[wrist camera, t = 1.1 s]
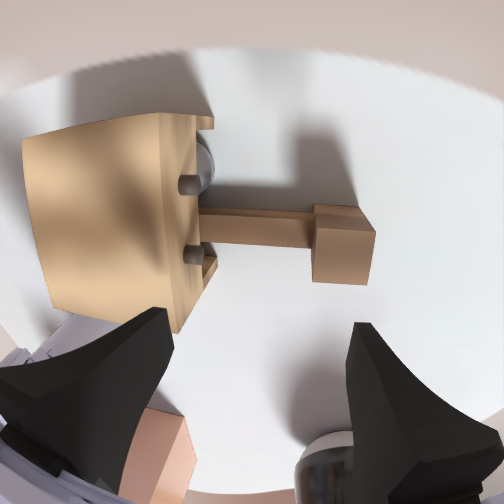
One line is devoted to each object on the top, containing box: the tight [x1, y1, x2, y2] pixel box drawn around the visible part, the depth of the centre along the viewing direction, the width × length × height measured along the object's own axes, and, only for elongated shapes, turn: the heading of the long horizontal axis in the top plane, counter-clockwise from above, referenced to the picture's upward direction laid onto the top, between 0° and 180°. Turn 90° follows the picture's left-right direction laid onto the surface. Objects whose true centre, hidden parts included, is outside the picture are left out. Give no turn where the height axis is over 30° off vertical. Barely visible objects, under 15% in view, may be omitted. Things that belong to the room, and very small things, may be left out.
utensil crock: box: [118, 408, 197, 504], centre depth 28 cm, size 12×12×13 cm
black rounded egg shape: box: [294, 431, 353, 504], centre depth 22 cm, size 10×10×15 cm
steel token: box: [196, 141, 215, 194], centre depth 19 cm, size 4×4×1 cm
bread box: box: [21, 112, 218, 334], centre depth 17 cm, size 10×10×8 cm
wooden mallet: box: [198, 204, 376, 285], centre depth 17 cm, size 7×16×5 cm, turn 90°
